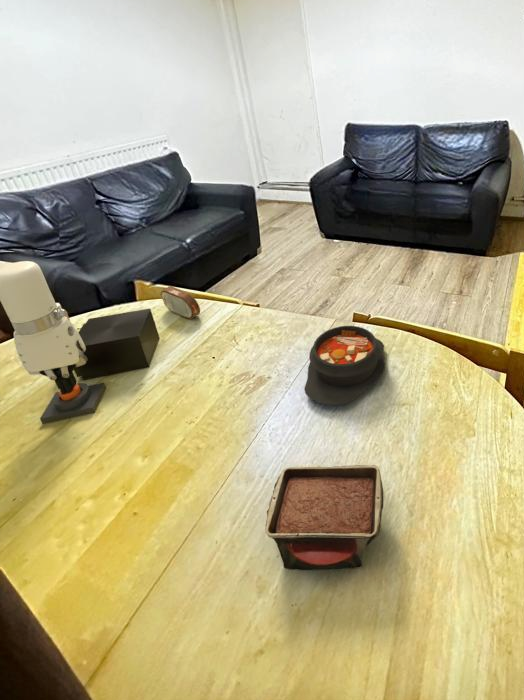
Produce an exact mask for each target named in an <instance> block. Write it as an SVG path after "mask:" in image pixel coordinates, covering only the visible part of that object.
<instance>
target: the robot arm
mask: <svg viewBox="0 0 524 700" xmlns="http://www.w3.org/2000/svg"><path fill="white" fill-rule="evenodd" d="M0 303H1V305H2V307H3V309H4V311H5V313H6V315H7V317H8V319H9V321H10V323H11V326H12V327H13V329H14V331H13V341H14V342H13V343H14V345H15V346H14V347H15V350H16V353H17V355H18V359H19V361H20V363H21V365H22V367H23V368H24V370H25V371H26V372H27V373H28V374H29V375H33V376H35V375H41V376H45V377H48V378H49V380H50V381H54V383H55V385H56V387H57V389H58V390H59V391H61V393H62V394H65V393H67V392H68V393H70V392H72V390H73V388H74V386H75V385H76V384H77V379H76V376H75V373H74V369H75V368H76V367H79V366H81V365H84V364H85V363H86V362H87V360H88V358H87V357H86V356H85V355H84V354H83V352H85V350H86V347H85V345H84V342H83V340H82V338H81V337H80V335H79V333H78V332H79V330H77V328H76V326H75V325H74V324H73V322H72V321H71V319H70V318H69V319H70V320H69V319H68V318H67V317H66V316H67V314H68V311H67V309H64V310H63V311H62V310H59V307H58V306H57V305H56V303H57V302H56V301H55V298H54V296H53V294H52V292H51V289H50V287H49V284H48V282H47V279H46V278H45V275H44V273H43V270H42V269H41V267H40V265H39V264H38V263H36V262H35V261H31V260H24V261H23V260H22V261H16V262H9V261H2V260H0Z"/></svg>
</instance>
